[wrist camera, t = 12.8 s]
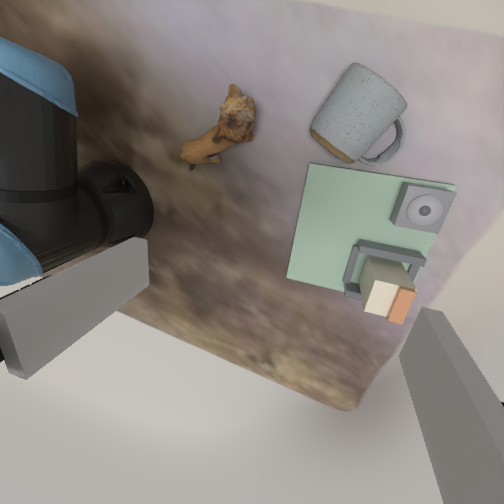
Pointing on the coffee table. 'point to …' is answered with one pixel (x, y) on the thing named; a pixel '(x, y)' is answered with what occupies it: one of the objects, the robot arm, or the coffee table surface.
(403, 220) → the fan
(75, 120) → the robot arm
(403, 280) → the plug
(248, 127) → the lion figurine
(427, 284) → the coffee table surface
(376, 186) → the board
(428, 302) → the coffee table surface
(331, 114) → the ceramic mug
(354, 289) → the header
